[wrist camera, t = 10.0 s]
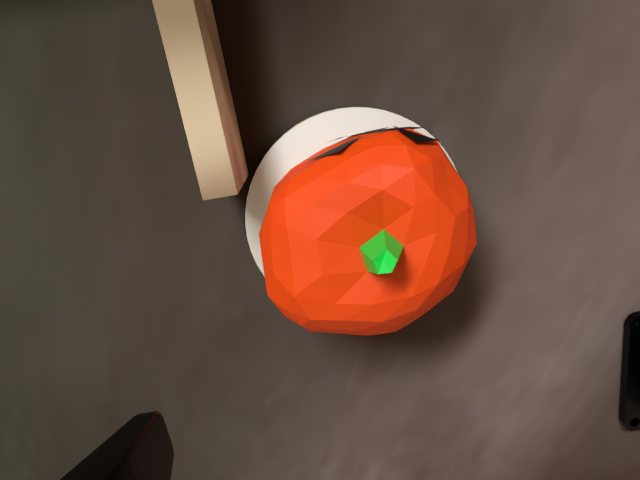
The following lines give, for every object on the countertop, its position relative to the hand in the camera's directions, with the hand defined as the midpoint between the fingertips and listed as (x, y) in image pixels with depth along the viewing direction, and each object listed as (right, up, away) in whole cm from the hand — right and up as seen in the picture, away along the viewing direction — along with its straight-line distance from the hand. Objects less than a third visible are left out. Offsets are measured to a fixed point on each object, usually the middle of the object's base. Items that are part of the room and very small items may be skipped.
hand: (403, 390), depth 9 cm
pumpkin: (0, +4, +11) cm, 11 cm away
